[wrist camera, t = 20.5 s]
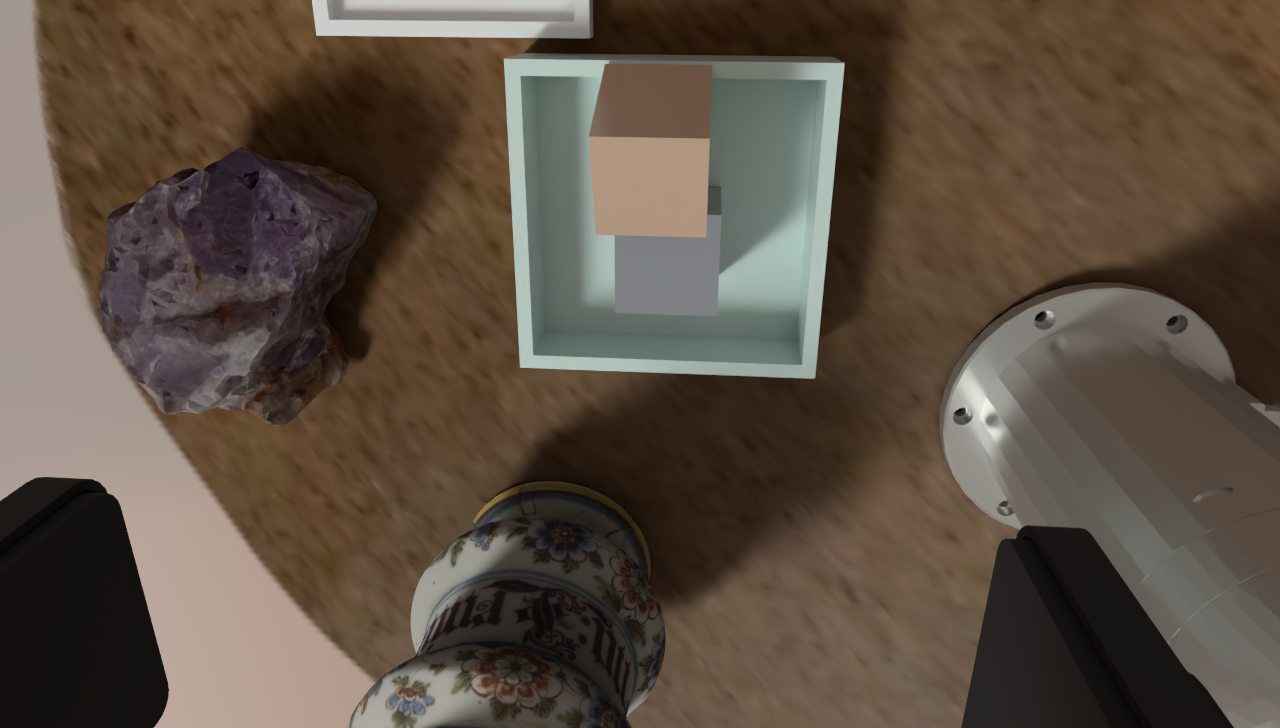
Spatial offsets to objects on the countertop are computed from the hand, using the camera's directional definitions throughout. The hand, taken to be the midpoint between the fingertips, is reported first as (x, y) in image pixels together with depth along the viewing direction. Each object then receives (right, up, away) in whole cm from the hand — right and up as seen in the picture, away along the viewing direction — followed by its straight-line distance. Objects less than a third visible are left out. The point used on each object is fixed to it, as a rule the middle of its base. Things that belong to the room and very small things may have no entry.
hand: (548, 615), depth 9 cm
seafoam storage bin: (+2, +10, +29) cm, 30 cm away
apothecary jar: (-3, -8, +37) cm, 38 cm away
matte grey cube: (+2, +9, +29) cm, 30 cm away
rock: (-16, +8, +31) cm, 36 cm away
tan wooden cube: (+2, +12, +24) cm, 27 cm away
